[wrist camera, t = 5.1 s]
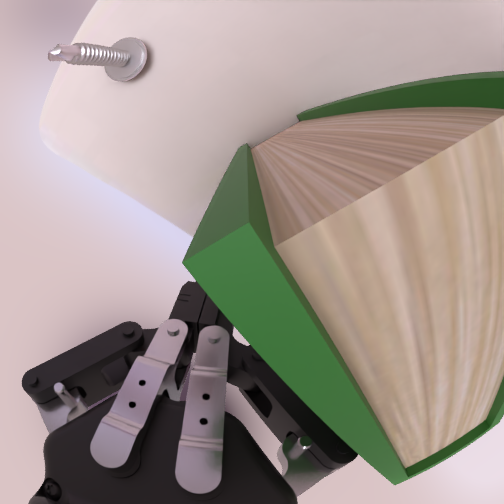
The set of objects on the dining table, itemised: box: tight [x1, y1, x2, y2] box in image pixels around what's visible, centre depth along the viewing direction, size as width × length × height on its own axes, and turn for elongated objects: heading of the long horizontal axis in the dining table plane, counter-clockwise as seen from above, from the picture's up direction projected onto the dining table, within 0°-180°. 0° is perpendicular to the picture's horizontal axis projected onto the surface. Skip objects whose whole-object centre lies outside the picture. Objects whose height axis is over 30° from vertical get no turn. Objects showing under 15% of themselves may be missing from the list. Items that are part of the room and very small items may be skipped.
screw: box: [48, 37, 147, 81], centre depth 15 cm, size 13×5×5 cm
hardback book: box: [182, 71, 504, 485], centre depth 17 cm, size 18×7×24 cm, turn 32°
